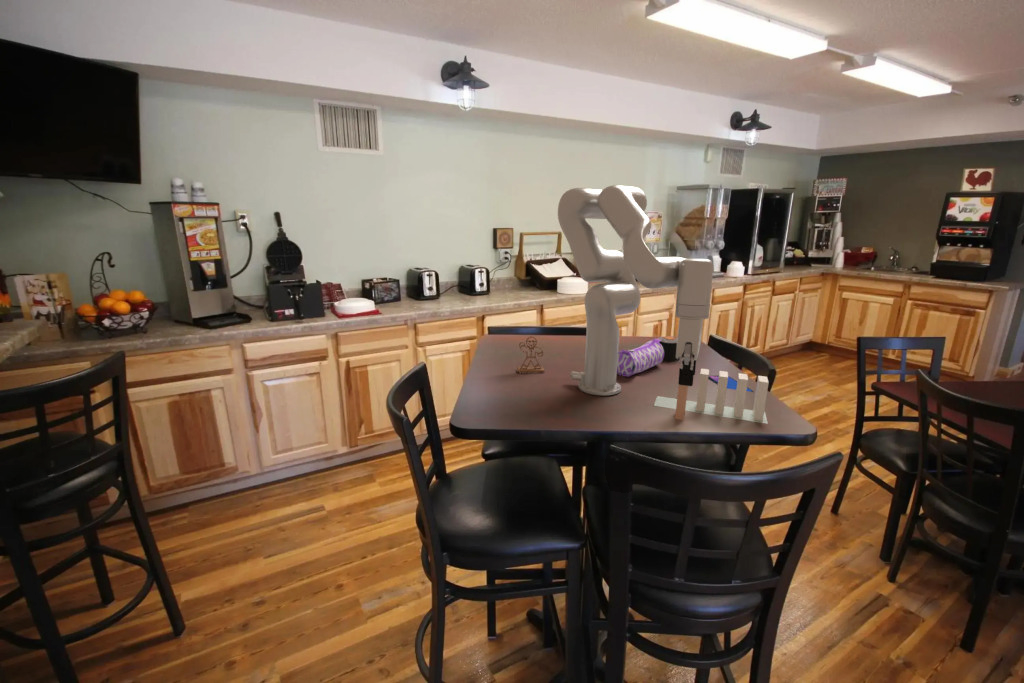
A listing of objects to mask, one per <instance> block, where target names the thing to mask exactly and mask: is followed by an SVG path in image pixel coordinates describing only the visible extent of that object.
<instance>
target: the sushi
mask: <svg viewBox="0 0 1024 683" xmlns="http://www.w3.org/2000/svg"><path fill="white" fill-rule="evenodd" d="M656 339H659V340H661V341H660V342H659V343H660V344H661V345H662V347H663V349H664V358H663V360H662V361H665V362H666V361H667V362H673V361H675V360H677V361H679V360H680V359H681V358H678V359H677V358H676V348H677V337H674V336H670V335H669V336H660V337H657V338H656Z"/></svg>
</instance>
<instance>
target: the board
mask: <svg viewBox="0 0 1024 683" xmlns="http://www.w3.org/2000/svg"><path fill="white" fill-rule="evenodd" d="M676 405H677V398H674V397H665V396H658V395H657V396H656V398H655V401H654V404H653V407H659V408H665V409H671V410H676ZM696 406H697V401H693V400H686V408H685V412H691V413H698V414H704V415H710V416H716V417H723V418H728V419H735V420H741V421H746V422H754V423H758V424H759V423H761V424H766V425H768V424H769V423H768V419H767V413H766V411H764V416H763V421H761V420H755V419H754V418H753V409H747V408H744V412H743V418H742V417H736V416H734V406H725V405H724V412H723V414H716V413H715V403H714V404H712V403H708V402H707V403H706V402H705V409H704V411H697V410H696Z"/></svg>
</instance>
